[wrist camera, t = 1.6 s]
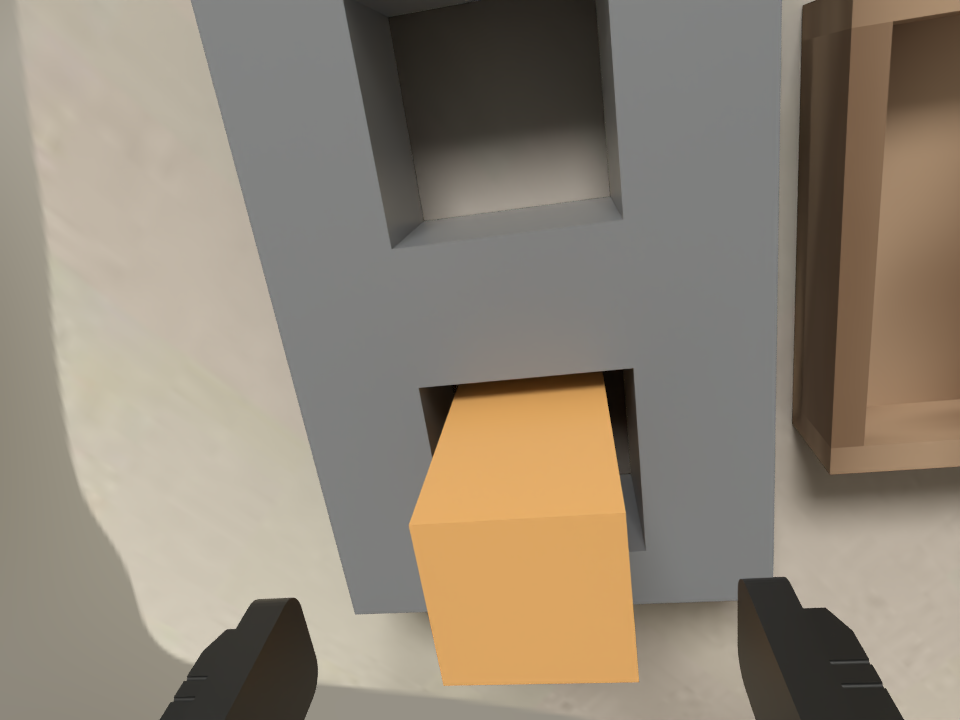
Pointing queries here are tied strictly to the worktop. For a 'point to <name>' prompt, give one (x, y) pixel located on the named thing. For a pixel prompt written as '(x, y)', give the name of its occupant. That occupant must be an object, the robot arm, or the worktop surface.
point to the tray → (879, 235)
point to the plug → (527, 537)
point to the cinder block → (523, 274)
